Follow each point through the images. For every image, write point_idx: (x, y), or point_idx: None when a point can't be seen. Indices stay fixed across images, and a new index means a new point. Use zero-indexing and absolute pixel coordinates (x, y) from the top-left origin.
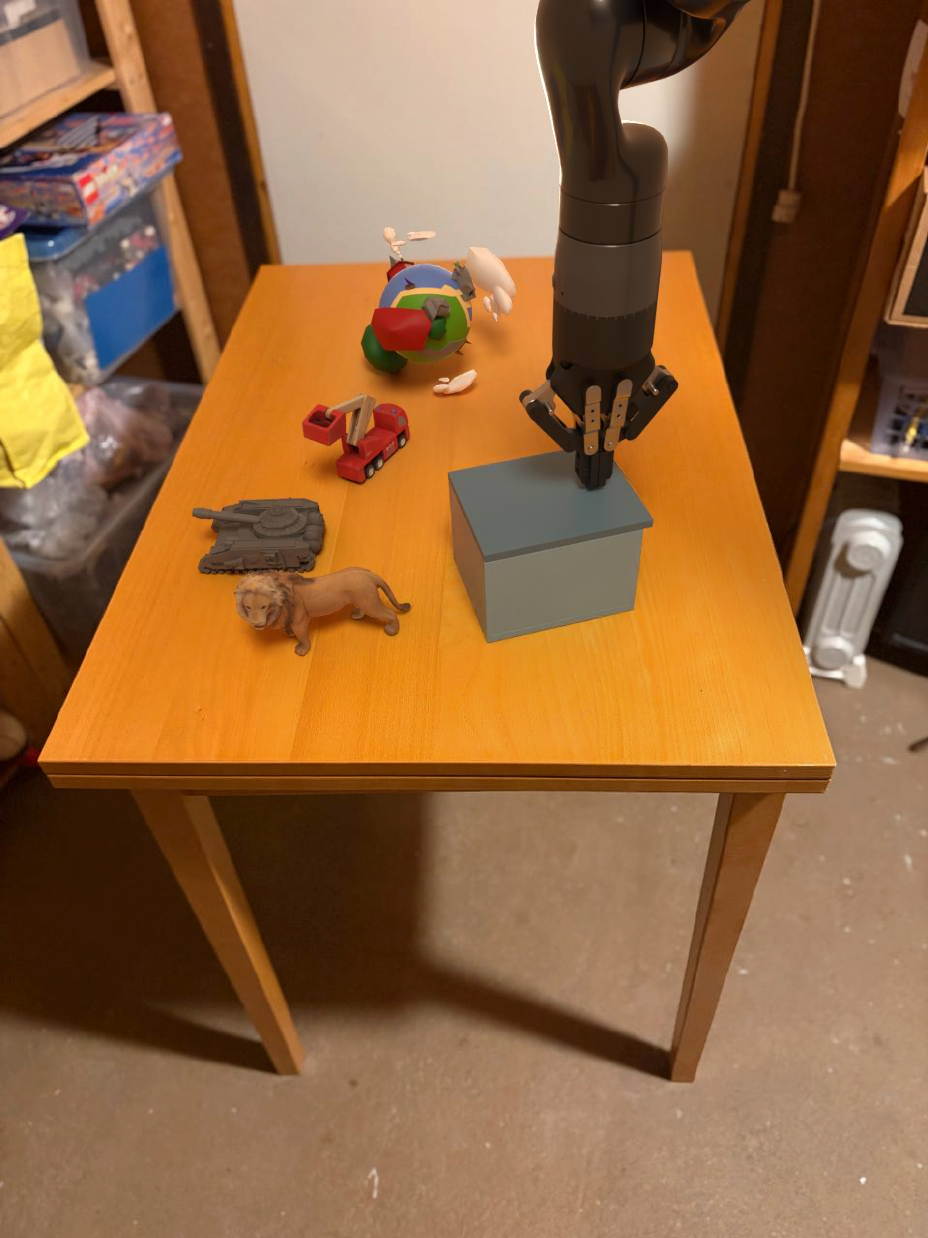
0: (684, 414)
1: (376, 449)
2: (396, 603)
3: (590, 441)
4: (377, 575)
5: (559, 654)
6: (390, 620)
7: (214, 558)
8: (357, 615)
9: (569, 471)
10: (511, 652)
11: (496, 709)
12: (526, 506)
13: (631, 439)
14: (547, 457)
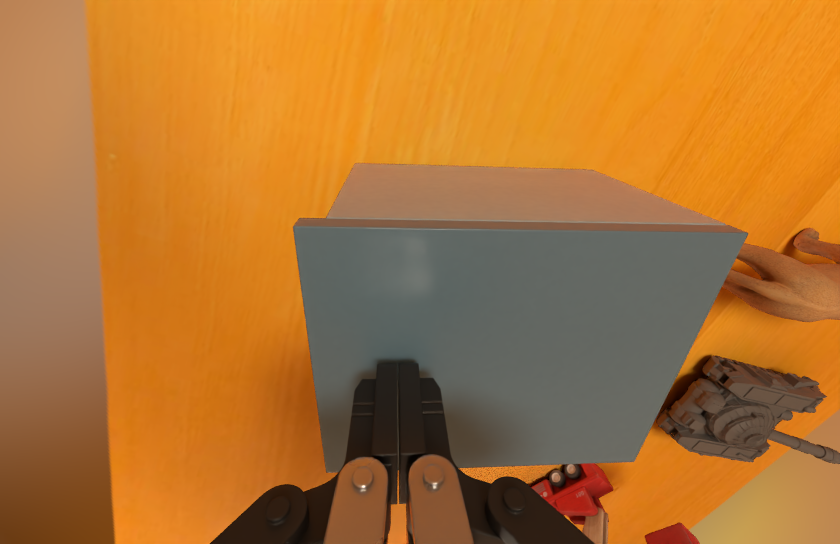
0: (169, 477)
1: (565, 496)
2: None
3: (441, 509)
4: (775, 296)
5: (506, 107)
6: None
7: (818, 393)
8: None
9: None
10: (570, 138)
11: (657, 18)
12: (563, 352)
13: (285, 488)
14: None
